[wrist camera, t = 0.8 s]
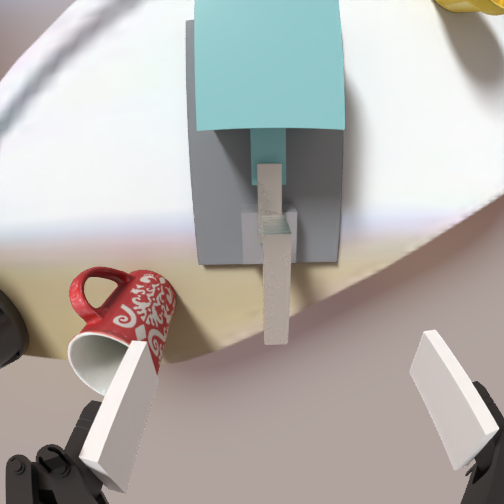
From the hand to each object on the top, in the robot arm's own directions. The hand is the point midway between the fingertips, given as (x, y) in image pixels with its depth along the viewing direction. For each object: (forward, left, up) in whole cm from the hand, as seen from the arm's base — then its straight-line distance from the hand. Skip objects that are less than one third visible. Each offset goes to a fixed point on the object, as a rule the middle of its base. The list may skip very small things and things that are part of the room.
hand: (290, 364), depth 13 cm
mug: (-15, -7, -21) cm, 27 cm away
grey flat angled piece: (0, +1, -16) cm, 16 cm away
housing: (0, +9, -21) cm, 23 cm away
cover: (0, +14, -20) cm, 24 cm away
